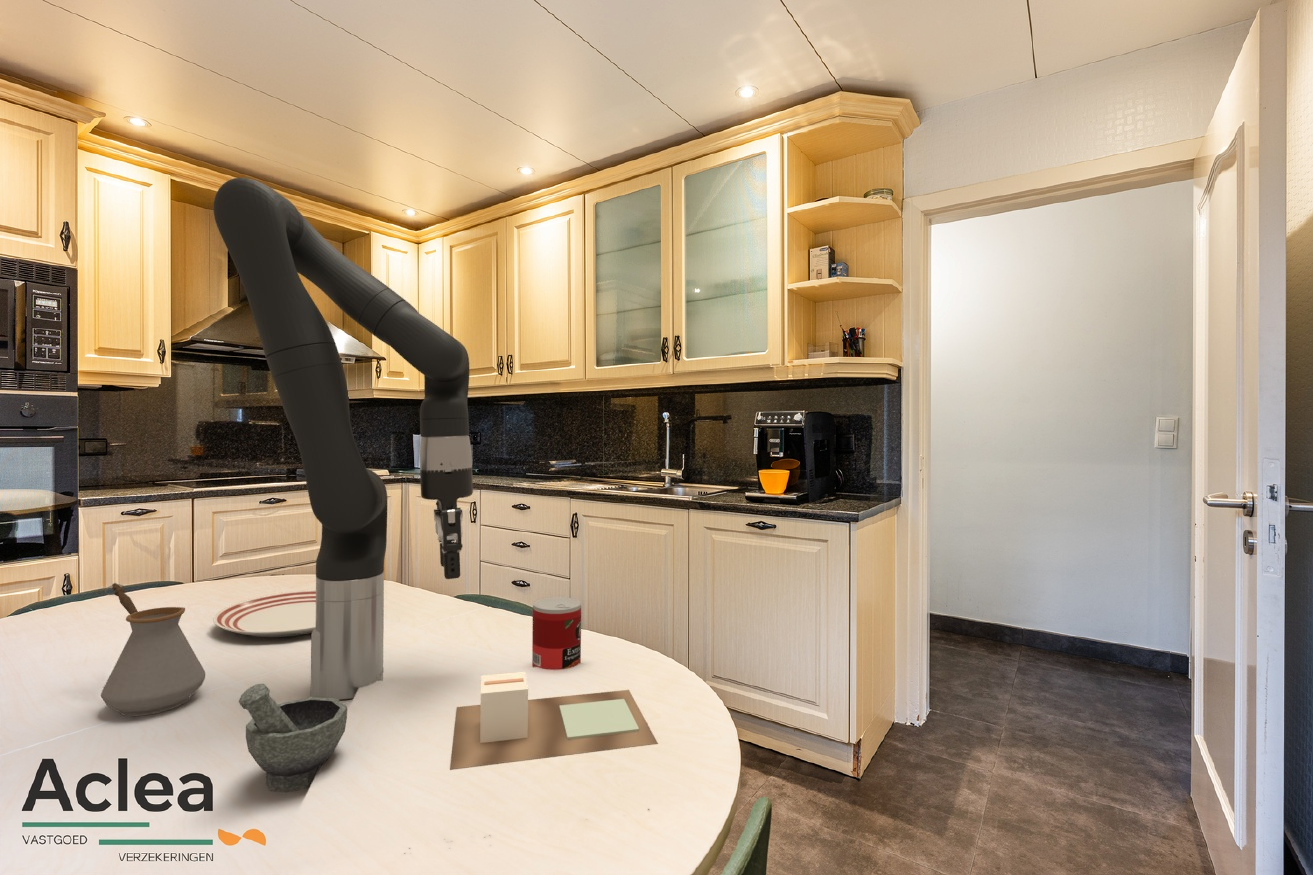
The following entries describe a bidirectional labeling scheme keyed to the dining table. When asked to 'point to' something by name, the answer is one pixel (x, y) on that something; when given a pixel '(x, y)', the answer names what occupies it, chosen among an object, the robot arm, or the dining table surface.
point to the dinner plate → (271, 615)
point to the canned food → (556, 633)
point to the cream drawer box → (504, 707)
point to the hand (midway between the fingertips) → (450, 571)
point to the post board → (541, 733)
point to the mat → (597, 719)
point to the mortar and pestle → (291, 736)
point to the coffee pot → (152, 663)
